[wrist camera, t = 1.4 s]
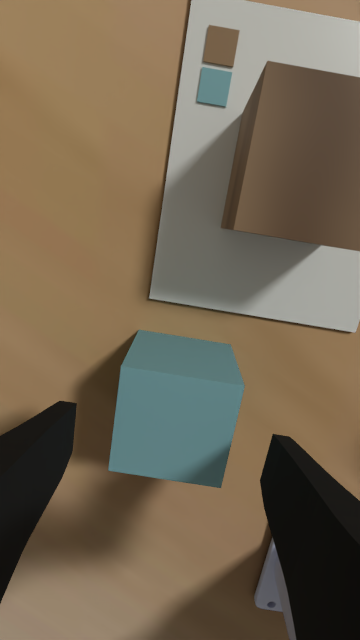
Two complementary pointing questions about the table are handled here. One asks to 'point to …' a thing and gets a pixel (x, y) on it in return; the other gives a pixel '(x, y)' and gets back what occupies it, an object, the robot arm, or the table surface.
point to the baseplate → (216, 164)
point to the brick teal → (176, 409)
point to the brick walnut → (298, 159)
